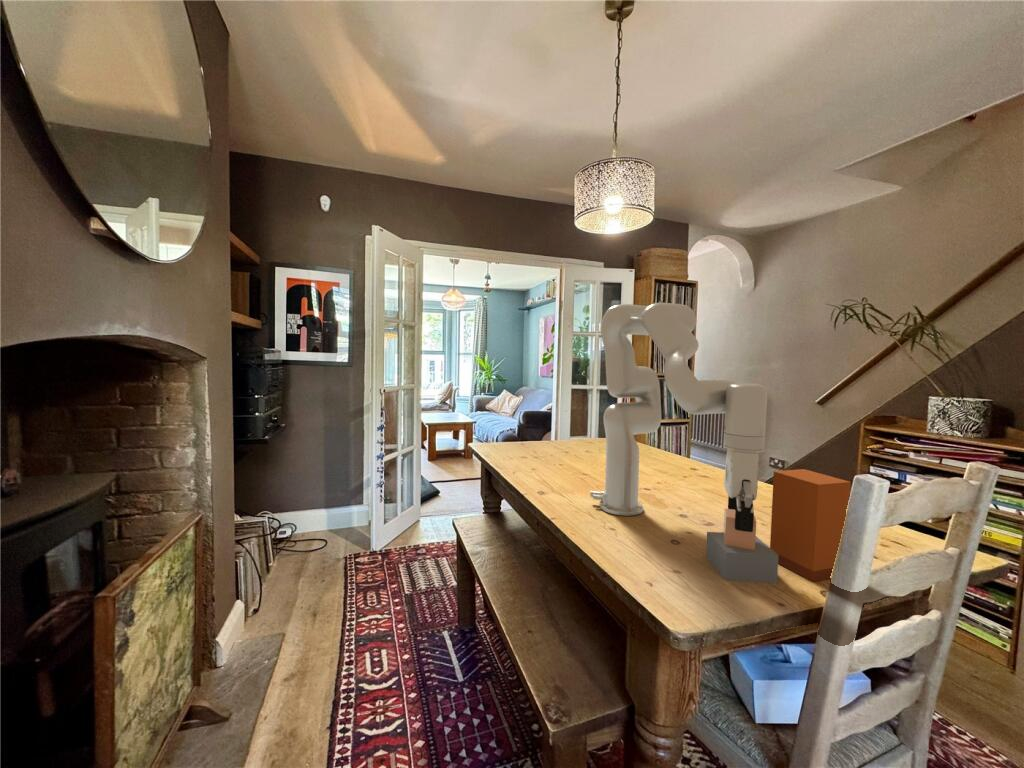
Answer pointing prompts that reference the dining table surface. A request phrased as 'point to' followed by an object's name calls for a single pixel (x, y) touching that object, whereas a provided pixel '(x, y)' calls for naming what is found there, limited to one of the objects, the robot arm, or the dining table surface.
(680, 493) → the dining table surface
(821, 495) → the tall orange brick
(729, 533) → the terracotta block
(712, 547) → the charcoal block
